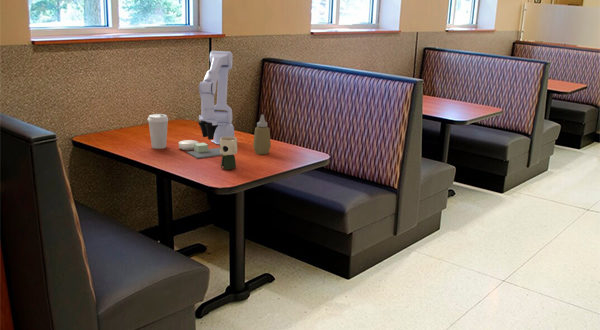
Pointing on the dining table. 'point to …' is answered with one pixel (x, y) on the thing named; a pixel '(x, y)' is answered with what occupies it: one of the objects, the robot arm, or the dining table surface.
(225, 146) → the character mug
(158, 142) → the coffee cup
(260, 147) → the squeeze bottle
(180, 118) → the dining table surface
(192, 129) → the dining table surface
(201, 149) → the pale green square block
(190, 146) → the white shallow dome
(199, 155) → the mat
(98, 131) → the dining table surface
